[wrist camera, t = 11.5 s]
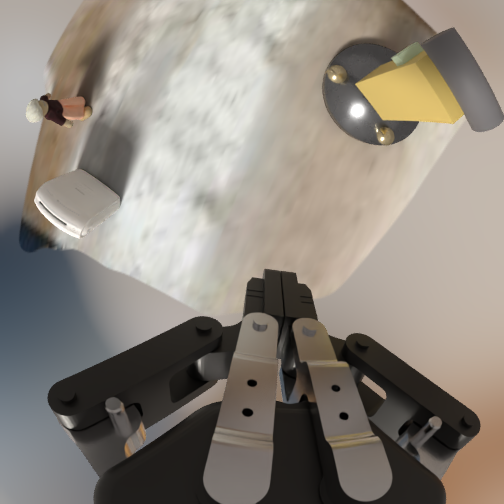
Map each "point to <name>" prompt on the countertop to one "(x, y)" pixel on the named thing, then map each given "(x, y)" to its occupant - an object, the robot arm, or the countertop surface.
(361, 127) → the levelling base
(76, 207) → the photo printer
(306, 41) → the countertop surface
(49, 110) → the grandmother figurine
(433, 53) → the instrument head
